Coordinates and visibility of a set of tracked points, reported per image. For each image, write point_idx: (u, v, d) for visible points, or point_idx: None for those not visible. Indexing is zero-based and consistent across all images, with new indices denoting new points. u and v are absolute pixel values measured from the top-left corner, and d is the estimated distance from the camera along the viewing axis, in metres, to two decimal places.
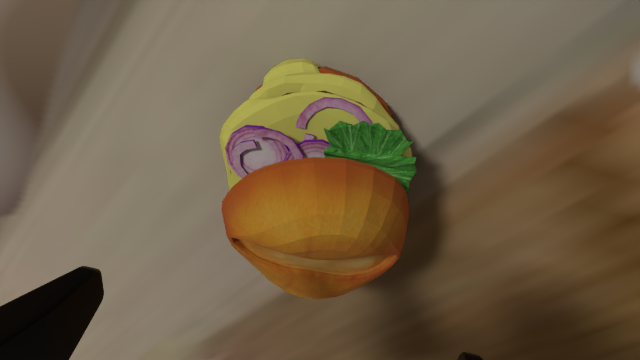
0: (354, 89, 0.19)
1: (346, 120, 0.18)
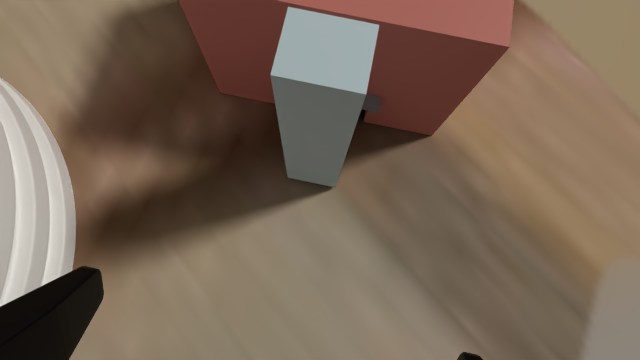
0: None
1: None
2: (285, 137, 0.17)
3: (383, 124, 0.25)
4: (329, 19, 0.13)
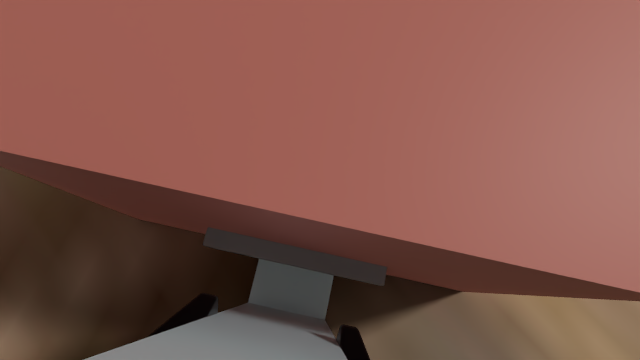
0: None
1: None
2: None
3: (388, 274, 0.16)
4: None
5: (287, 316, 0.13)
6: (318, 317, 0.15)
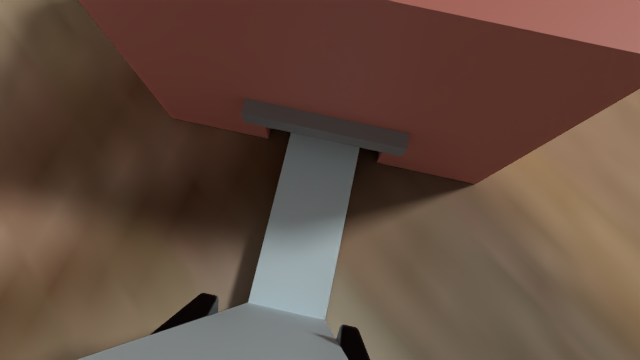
0: None
1: None
2: None
3: (406, 167, 0.17)
4: None
5: (287, 316, 0.13)
6: (318, 317, 0.15)
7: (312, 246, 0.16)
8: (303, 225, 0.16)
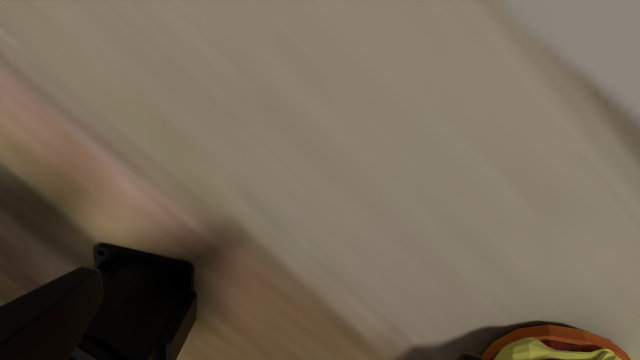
0: None
1: None
2: None
3: None
4: None
5: None
6: None
7: None
8: None
